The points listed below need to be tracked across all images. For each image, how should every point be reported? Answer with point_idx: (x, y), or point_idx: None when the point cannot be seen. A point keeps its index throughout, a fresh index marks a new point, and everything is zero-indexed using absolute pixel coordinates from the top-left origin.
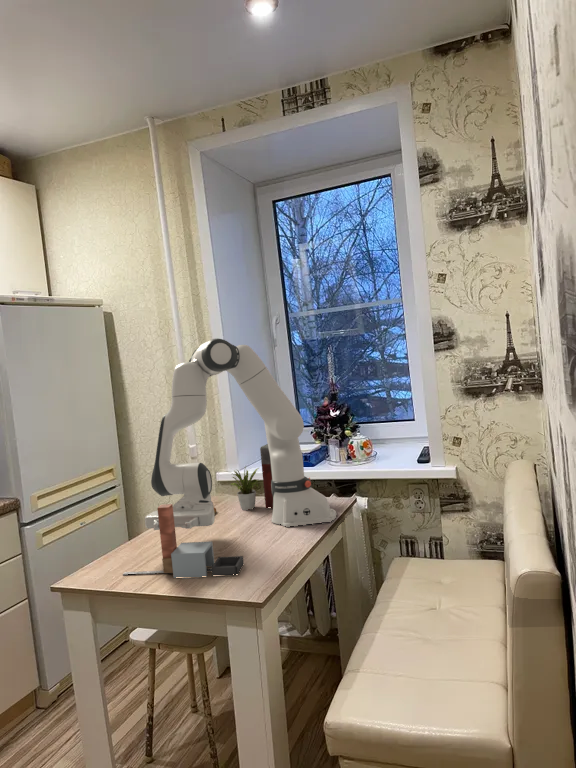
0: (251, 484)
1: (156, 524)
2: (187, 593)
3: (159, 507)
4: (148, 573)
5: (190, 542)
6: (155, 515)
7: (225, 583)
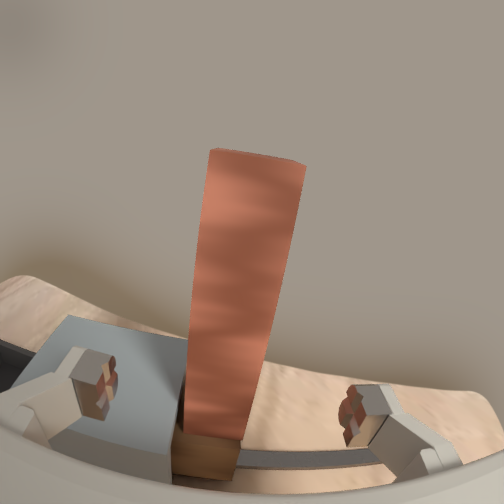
0: None
1: (366, 385)
2: (136, 326)
3: (282, 158)
4: (301, 453)
5: (109, 440)
6: (501, 479)
7: (44, 337)
